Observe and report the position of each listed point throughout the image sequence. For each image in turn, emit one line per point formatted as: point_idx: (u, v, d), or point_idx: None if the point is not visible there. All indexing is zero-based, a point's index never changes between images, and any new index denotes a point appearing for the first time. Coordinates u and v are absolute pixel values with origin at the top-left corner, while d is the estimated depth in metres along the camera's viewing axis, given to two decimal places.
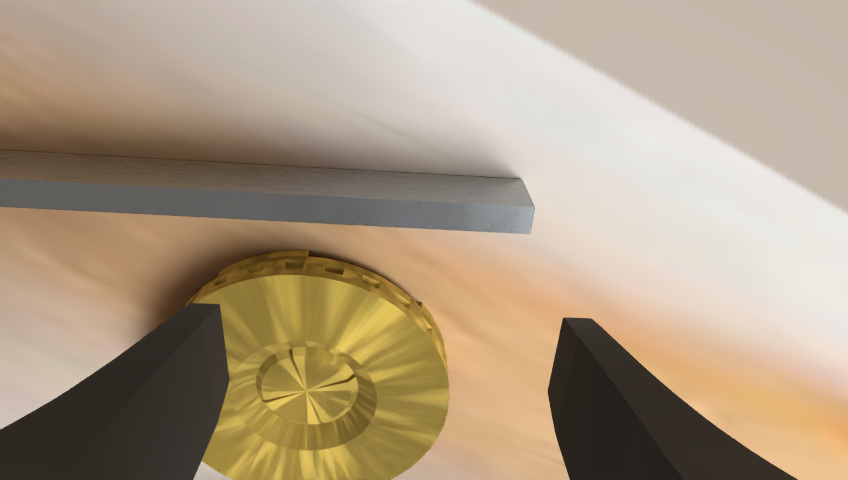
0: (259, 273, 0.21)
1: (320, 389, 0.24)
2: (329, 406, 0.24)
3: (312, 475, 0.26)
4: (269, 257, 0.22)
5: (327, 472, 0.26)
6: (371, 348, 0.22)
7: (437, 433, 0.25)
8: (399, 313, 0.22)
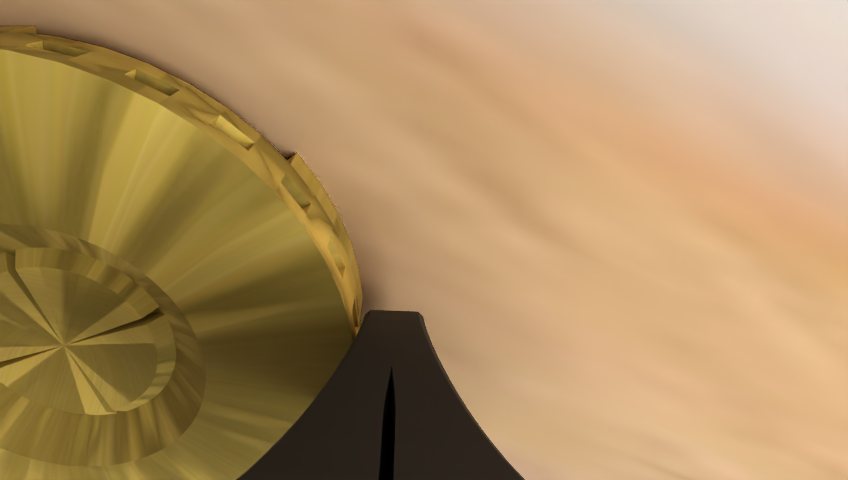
0: None
1: (92, 341, 0.12)
2: (119, 377, 0.12)
3: None
4: None
5: None
6: (168, 242, 0.10)
7: None
8: (214, 150, 0.09)
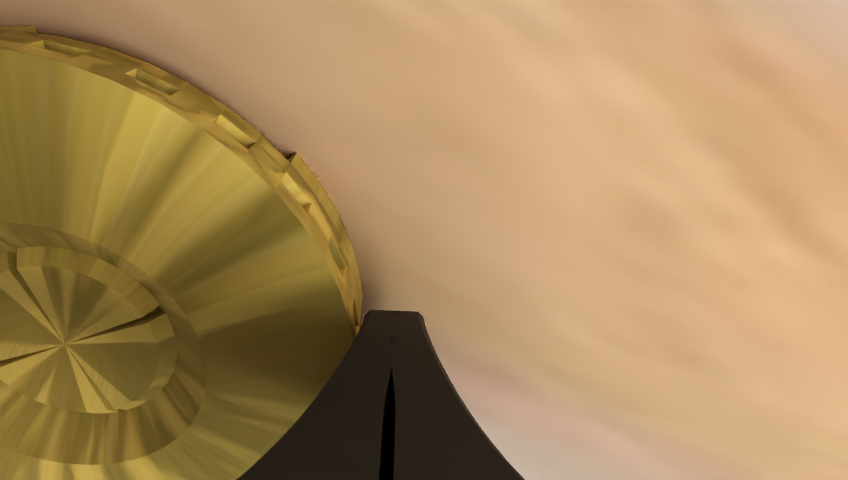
0: None
1: (93, 340, 0.12)
2: (121, 376, 0.12)
3: None
4: None
5: None
6: (169, 240, 0.10)
7: None
8: (215, 149, 0.09)
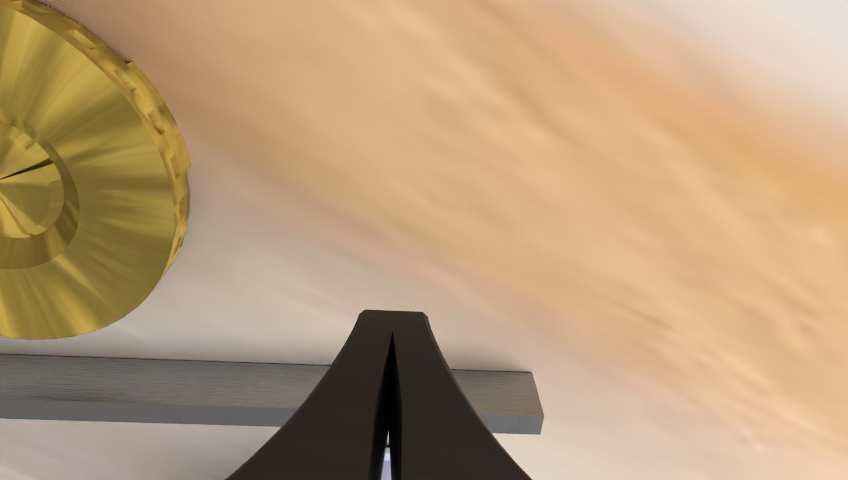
0: None
1: (7, 179, 0.18)
2: (28, 206, 0.19)
3: (28, 307, 0.20)
4: None
5: (45, 302, 0.20)
6: (45, 106, 0.17)
7: (169, 241, 0.19)
8: (65, 46, 0.16)
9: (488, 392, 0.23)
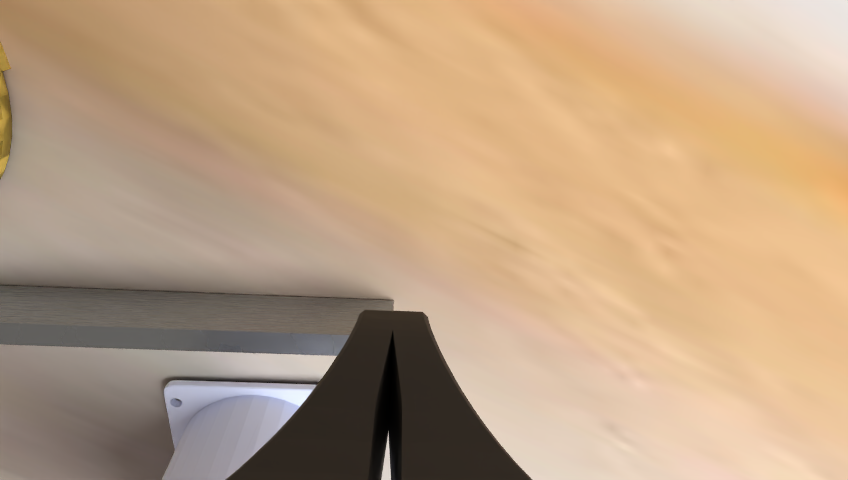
0: None
1: None
2: None
3: None
4: None
5: None
6: None
7: None
8: None
9: (341, 316, 0.23)
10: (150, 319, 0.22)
